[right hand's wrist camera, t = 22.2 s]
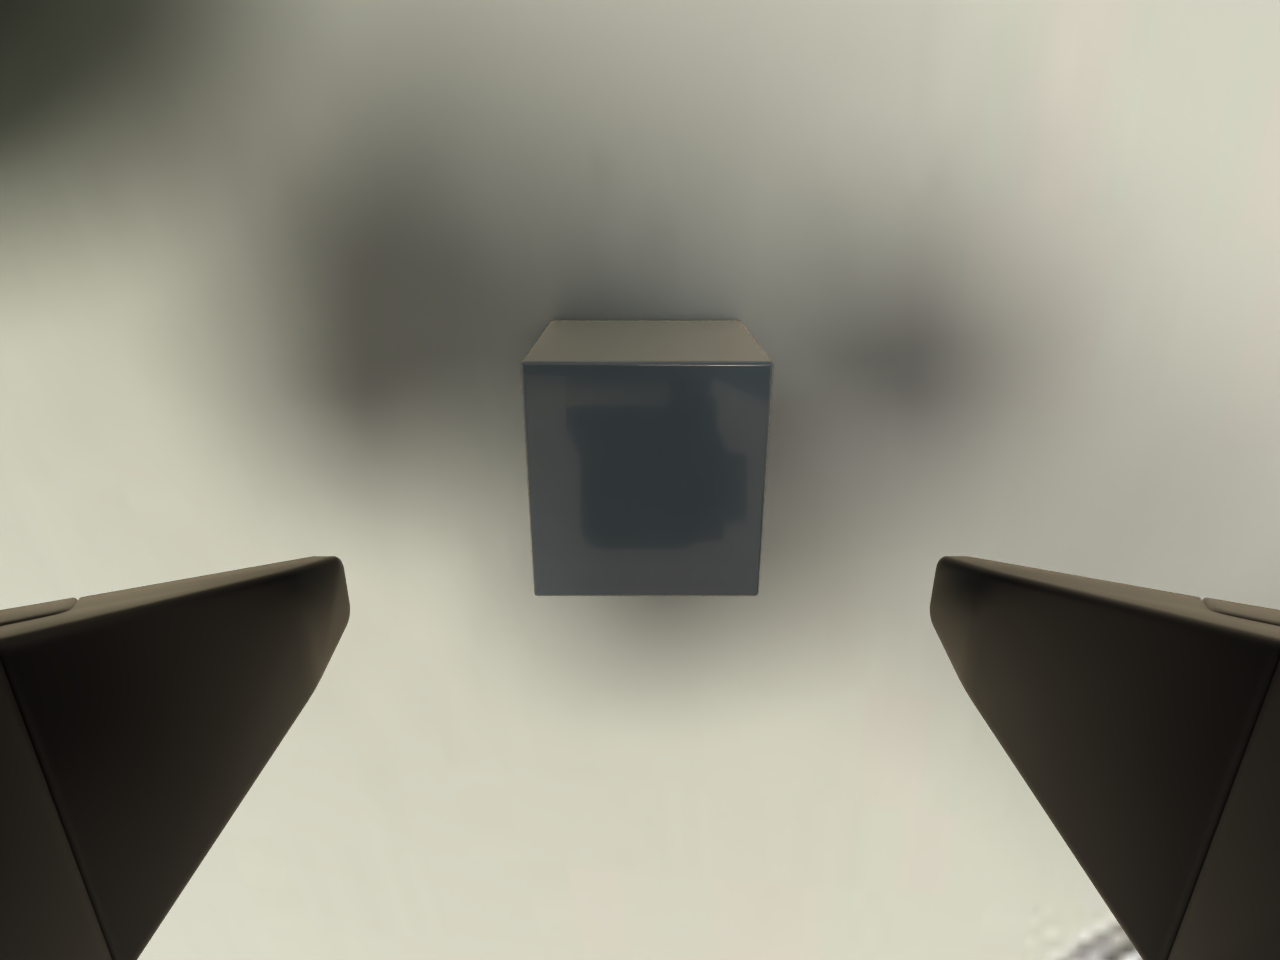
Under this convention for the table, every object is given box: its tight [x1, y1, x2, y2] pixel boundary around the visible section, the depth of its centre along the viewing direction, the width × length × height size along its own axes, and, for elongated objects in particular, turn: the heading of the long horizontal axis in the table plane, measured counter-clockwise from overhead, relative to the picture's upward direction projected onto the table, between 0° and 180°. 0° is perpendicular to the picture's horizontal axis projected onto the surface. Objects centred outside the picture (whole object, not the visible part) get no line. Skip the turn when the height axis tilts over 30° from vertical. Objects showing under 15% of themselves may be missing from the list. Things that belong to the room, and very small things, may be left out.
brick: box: [521, 320, 774, 596], centre depth 17 cm, size 5×5×5 cm
